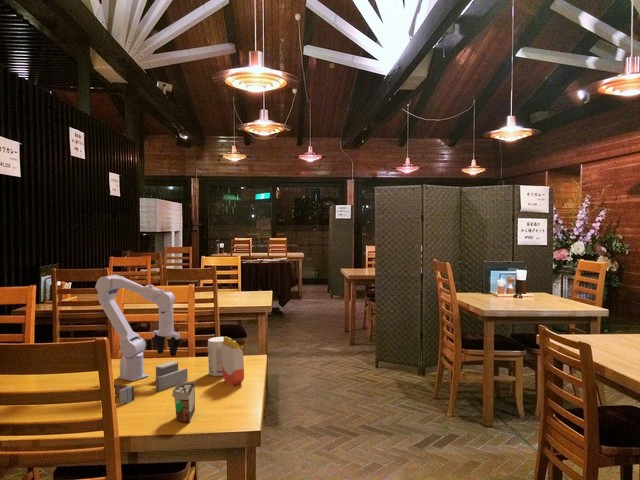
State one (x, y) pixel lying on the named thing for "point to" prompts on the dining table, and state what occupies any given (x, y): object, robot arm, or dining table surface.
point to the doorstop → (166, 368)
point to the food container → (184, 401)
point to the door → (119, 386)
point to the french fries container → (232, 362)
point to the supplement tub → (215, 355)
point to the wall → (157, 384)
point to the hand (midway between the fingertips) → (166, 354)
